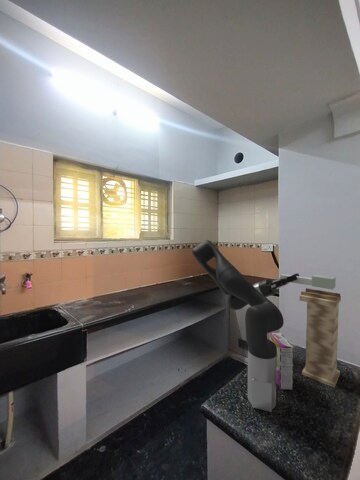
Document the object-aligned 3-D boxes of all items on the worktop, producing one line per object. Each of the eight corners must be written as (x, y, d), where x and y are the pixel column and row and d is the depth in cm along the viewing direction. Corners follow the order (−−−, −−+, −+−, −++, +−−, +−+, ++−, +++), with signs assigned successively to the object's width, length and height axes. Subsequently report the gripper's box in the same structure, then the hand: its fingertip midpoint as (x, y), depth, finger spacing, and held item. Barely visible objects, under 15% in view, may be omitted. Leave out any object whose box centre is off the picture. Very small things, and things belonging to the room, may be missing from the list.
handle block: (335, 287, 87) (335, 276, 87) (332, 289, 83) (333, 279, 83) (283, 279, 100) (283, 270, 100) (279, 281, 97) (279, 271, 97)
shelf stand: (339, 373, 90) (342, 292, 88) (334, 387, 82) (337, 299, 80) (305, 360, 98) (307, 287, 97) (297, 372, 90) (299, 292, 89)
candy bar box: (268, 370, 92) (268, 332, 91) (280, 370, 92) (280, 332, 91) (279, 390, 81) (280, 346, 80) (293, 390, 81) (294, 346, 80)
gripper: (252, 284, 101) (287, 270, 90) (265, 279, 111) (298, 265, 100) (260, 300, 99) (297, 287, 88) (272, 293, 109) (307, 281, 98)
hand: (297, 276), depth 94 cm, fingers closed on handle block, 3 cm apart
